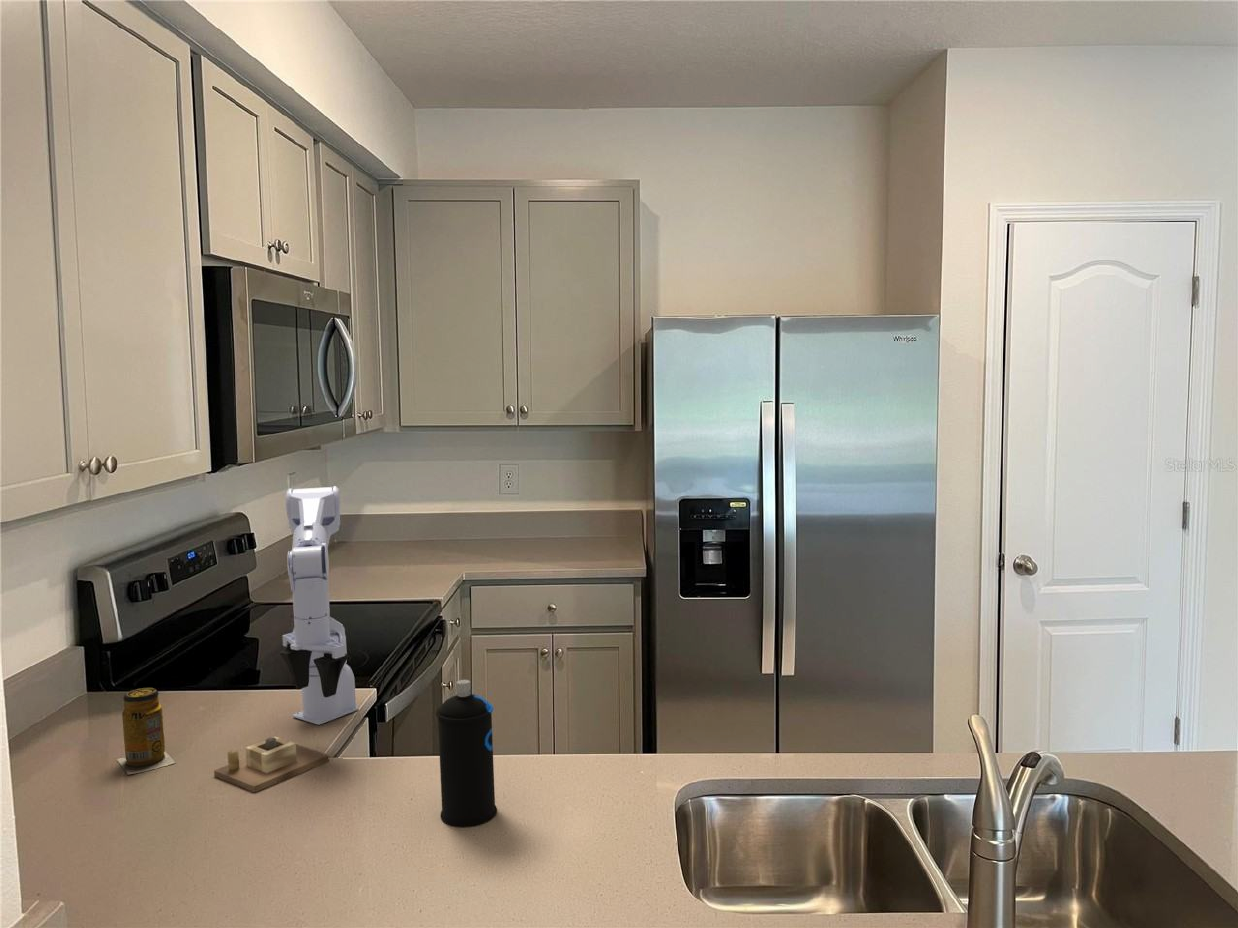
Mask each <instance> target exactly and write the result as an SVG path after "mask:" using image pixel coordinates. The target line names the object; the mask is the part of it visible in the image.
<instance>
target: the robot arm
mask: <svg viewBox="0 0 1238 928" xmlns="http://www.w3.org/2000/svg"><path fill="white" fill-rule="evenodd" d="M285 505H286V506H285V507H286V516H287V519H288V520H287V521H288V524H289V528H290V530H291V531H290V532H291V534H293V535H292V546H291V550H288V551H287V559H286V560H287V561H286V564H287V565H286V566H287V575H288V579H289V583H290V591H291V592H292V606H293V622H294V624H293V625H294V626H293V627H294V628H293V631H292V632H290V633H286V634H283V635H282V637H281V638H282V646H283V647H286V649H282V650H281V651H279V652H280V657H281V658H282V660H284V662H285V664H286V665H287V667H288V669H289V672H290V675H291V678H292V681H293V683H294V687H295V689H296V690H301V703H302V710H301V711H299V712H296V713H293V715H292V717H293V718H294V719H295V718H296V719H299V720H302V721H305V722H307V723H311V724H315V725H322V724H324V723H328V722H330V721H333V720H335V719H338V718H341V717H343V716H346V715H348V714H350V713H354V712H356V711H358V710H359V709H360V708H359V706H357V700H356V699H357V697H356V685H355V684H356V683H355V680H356V679H355V676H354V673H353V670H352V668H351V666H350V665H348V664H347V661H348V652H347V636H346V629H345V626H344V625H343V624H342V623H341V622H340V621H337V620H336V619H335V618H333V617H331V616H330V615H331V614H330V612H331V611H330V586H329V585H330V582H329V578H330V577H329V575H330V574H329V573H330V564H329V563H330V562H329V561H330V560H329V550H328V549H329V542H330V540H331V536H332V535H334V534H336V533H337V532H338V531H339V530H340V526H341V498H340V489H339V487H337V485H333V486H326V487H310V488H309V487H308V488H292V487H291V488H288V490H287V491H286V493H285Z"/></svg>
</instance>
